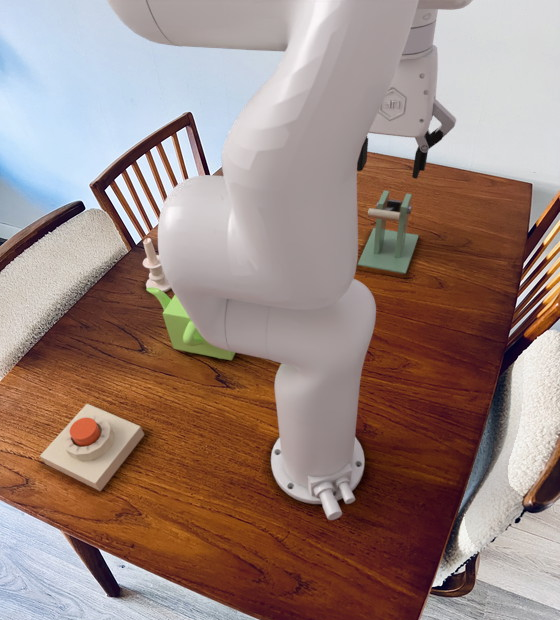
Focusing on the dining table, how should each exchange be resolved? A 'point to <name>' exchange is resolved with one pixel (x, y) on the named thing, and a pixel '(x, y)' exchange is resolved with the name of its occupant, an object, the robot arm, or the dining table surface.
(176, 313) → the teapot
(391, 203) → the switch lever
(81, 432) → the red short cylinder
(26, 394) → the dining table surface
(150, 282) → the candle
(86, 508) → the dining table surface
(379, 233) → the stand
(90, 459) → the beige square piece
